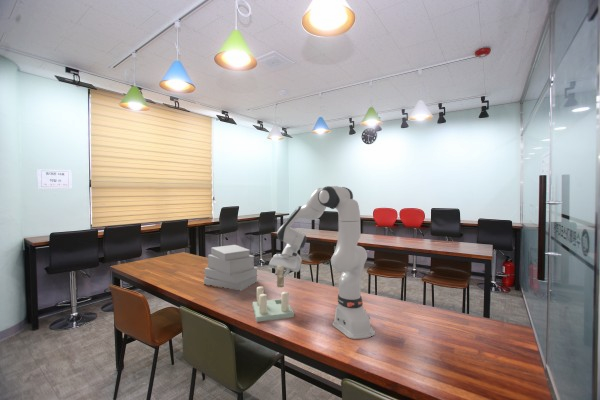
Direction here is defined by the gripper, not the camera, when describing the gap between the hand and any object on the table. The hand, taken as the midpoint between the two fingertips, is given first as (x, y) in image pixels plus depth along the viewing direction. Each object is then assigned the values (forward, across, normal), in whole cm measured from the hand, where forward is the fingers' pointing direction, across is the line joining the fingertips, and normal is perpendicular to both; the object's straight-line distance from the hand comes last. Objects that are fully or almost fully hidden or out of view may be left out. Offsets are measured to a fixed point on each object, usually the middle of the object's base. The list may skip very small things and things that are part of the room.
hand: (279, 275), depth 156 cm
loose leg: (+4, 0, +5) cm, 7 cm away
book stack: (+2, -54, +25) cm, 59 cm away
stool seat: (+18, 0, +7) cm, 20 cm away
